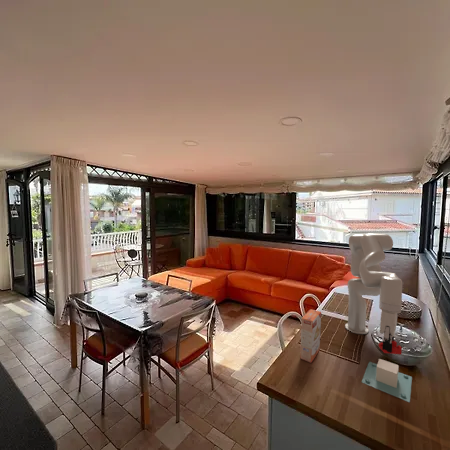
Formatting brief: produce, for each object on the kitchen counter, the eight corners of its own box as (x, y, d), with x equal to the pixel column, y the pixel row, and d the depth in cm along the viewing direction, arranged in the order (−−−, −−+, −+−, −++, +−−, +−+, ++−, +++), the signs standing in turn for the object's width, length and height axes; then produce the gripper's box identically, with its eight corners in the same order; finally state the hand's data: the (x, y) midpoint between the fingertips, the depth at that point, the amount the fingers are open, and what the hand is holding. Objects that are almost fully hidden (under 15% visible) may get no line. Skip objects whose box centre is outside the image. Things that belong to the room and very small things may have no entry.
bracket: (394, 347, 100) (395, 340, 100) (401, 354, 96) (401, 347, 96) (378, 346, 101) (378, 339, 101) (384, 352, 97) (384, 345, 97)
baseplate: (369, 363, 112) (369, 360, 112) (411, 379, 102) (412, 375, 102) (361, 384, 98) (361, 380, 98) (409, 405, 88) (409, 400, 88)
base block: (378, 371, 105) (379, 358, 105) (398, 378, 100) (398, 365, 100) (376, 380, 100) (376, 366, 99) (396, 388, 95) (397, 373, 95)
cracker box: (312, 363, 112) (313, 321, 111) (299, 359, 116) (300, 317, 114) (320, 350, 123) (321, 311, 122) (309, 346, 127) (310, 308, 125)
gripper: (382, 298, 107) (380, 336, 108) (376, 310, 94) (374, 353, 95) (402, 302, 102) (400, 342, 103) (399, 315, 89) (397, 361, 90)
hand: (388, 347), depth 99 cm, fingers closed on bracket, 5 cm apart
